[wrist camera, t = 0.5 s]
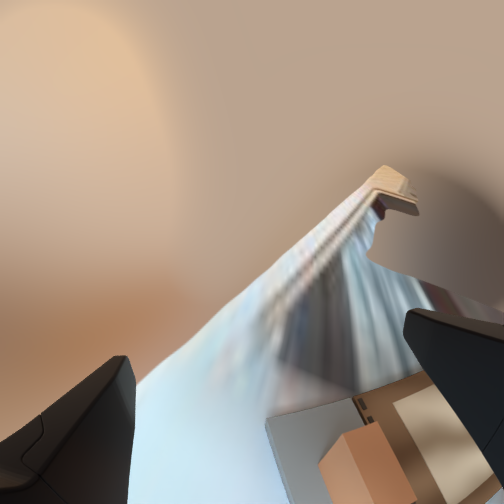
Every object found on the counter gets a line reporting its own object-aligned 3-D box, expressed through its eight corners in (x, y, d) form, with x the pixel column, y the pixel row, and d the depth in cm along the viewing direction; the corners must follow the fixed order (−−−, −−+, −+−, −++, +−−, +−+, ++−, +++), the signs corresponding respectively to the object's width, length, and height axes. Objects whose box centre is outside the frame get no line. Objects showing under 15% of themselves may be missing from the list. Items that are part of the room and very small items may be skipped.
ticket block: (502, 482, 12) (513, 475, 11) (417, 549, 10) (428, 547, 9) (433, 372, 25) (440, 362, 25) (348, 404, 23) (353, 395, 22)
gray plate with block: (414, 551, 10) (477, 535, 6) (323, 593, 8) (364, 606, 4) (345, 405, 23) (374, 353, 19) (264, 426, 21) (275, 376, 17)
